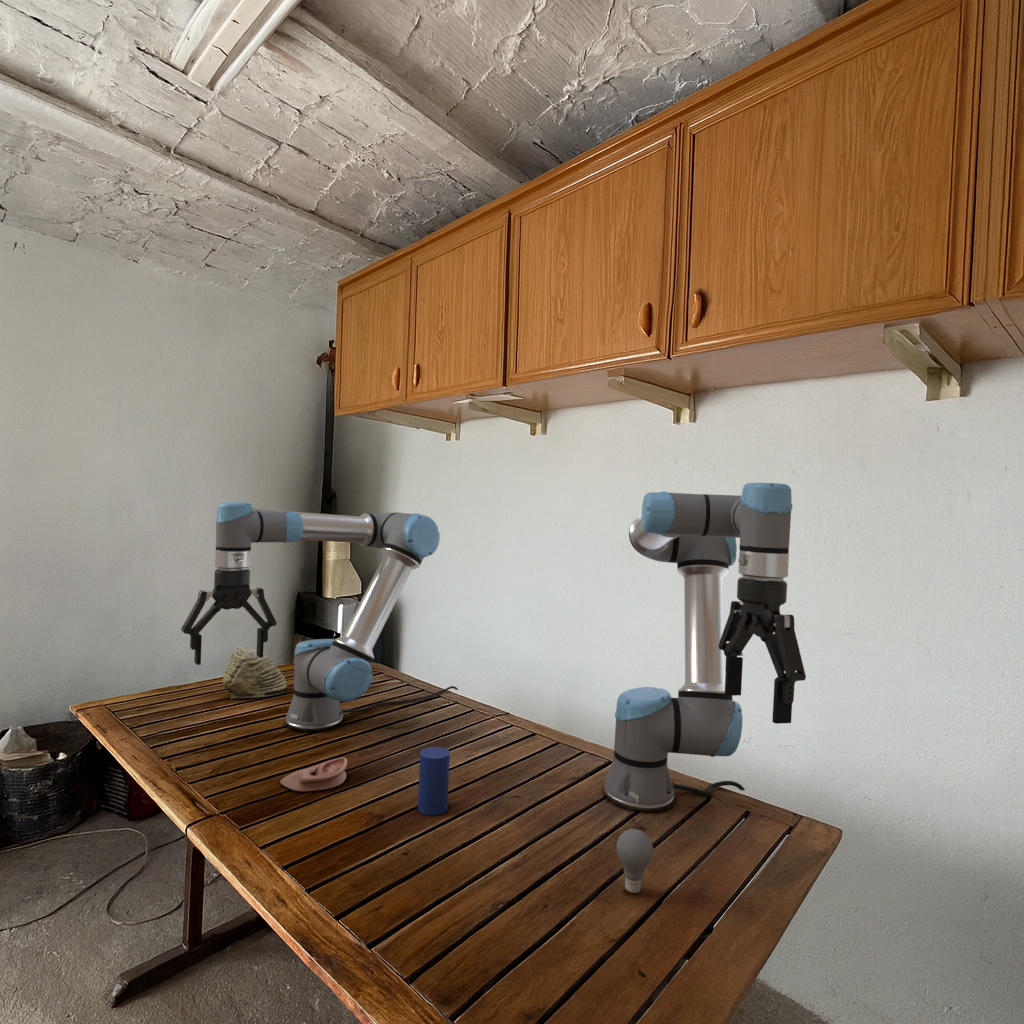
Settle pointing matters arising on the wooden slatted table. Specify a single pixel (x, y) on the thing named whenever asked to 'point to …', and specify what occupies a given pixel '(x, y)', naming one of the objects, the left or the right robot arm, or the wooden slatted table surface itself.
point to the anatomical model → (317, 776)
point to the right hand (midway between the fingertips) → (755, 708)
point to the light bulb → (634, 857)
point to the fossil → (252, 675)
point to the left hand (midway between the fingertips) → (229, 659)
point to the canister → (433, 780)
